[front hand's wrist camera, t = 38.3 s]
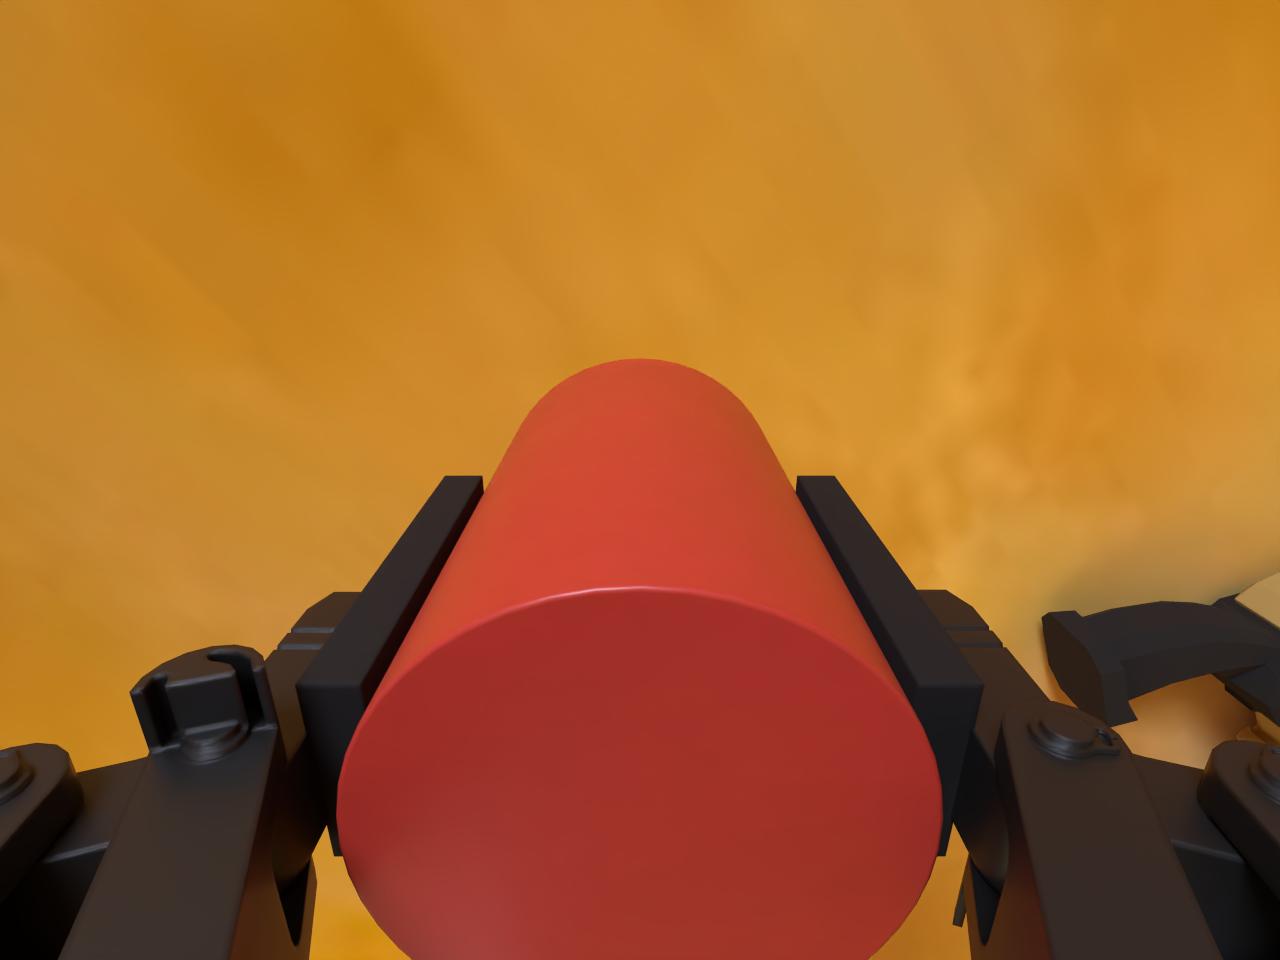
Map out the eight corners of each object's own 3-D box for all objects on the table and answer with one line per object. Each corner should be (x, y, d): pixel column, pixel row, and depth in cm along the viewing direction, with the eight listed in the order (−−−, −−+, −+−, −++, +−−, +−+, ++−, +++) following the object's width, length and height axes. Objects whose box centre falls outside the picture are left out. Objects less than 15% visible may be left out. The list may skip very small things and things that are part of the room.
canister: (695, 304, 15) (786, 462, 6) (817, 535, 17) (1027, 926, 8) (452, 443, 16) (201, 762, 7) (594, 643, 18) (547, 1094, 9)
